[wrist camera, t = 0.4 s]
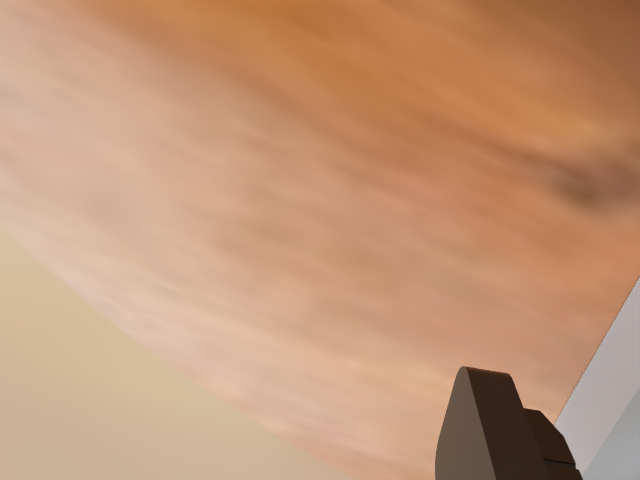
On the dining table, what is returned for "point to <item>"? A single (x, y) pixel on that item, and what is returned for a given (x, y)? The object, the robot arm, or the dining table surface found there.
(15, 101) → the dining table surface
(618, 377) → the console
